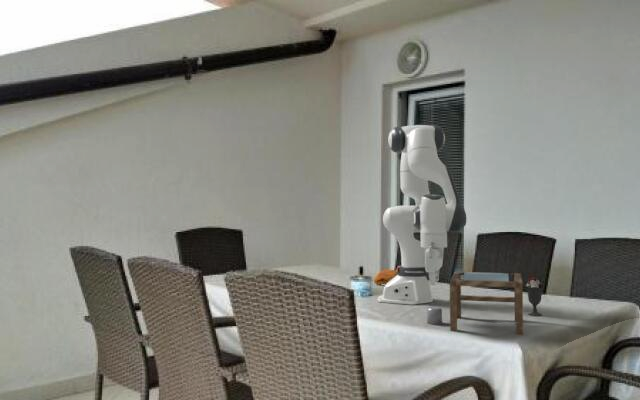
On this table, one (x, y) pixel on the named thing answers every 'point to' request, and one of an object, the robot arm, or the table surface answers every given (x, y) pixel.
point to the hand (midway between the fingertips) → (434, 283)
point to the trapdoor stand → (485, 297)
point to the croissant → (385, 276)
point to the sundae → (534, 294)
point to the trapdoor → (486, 276)
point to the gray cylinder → (434, 315)
